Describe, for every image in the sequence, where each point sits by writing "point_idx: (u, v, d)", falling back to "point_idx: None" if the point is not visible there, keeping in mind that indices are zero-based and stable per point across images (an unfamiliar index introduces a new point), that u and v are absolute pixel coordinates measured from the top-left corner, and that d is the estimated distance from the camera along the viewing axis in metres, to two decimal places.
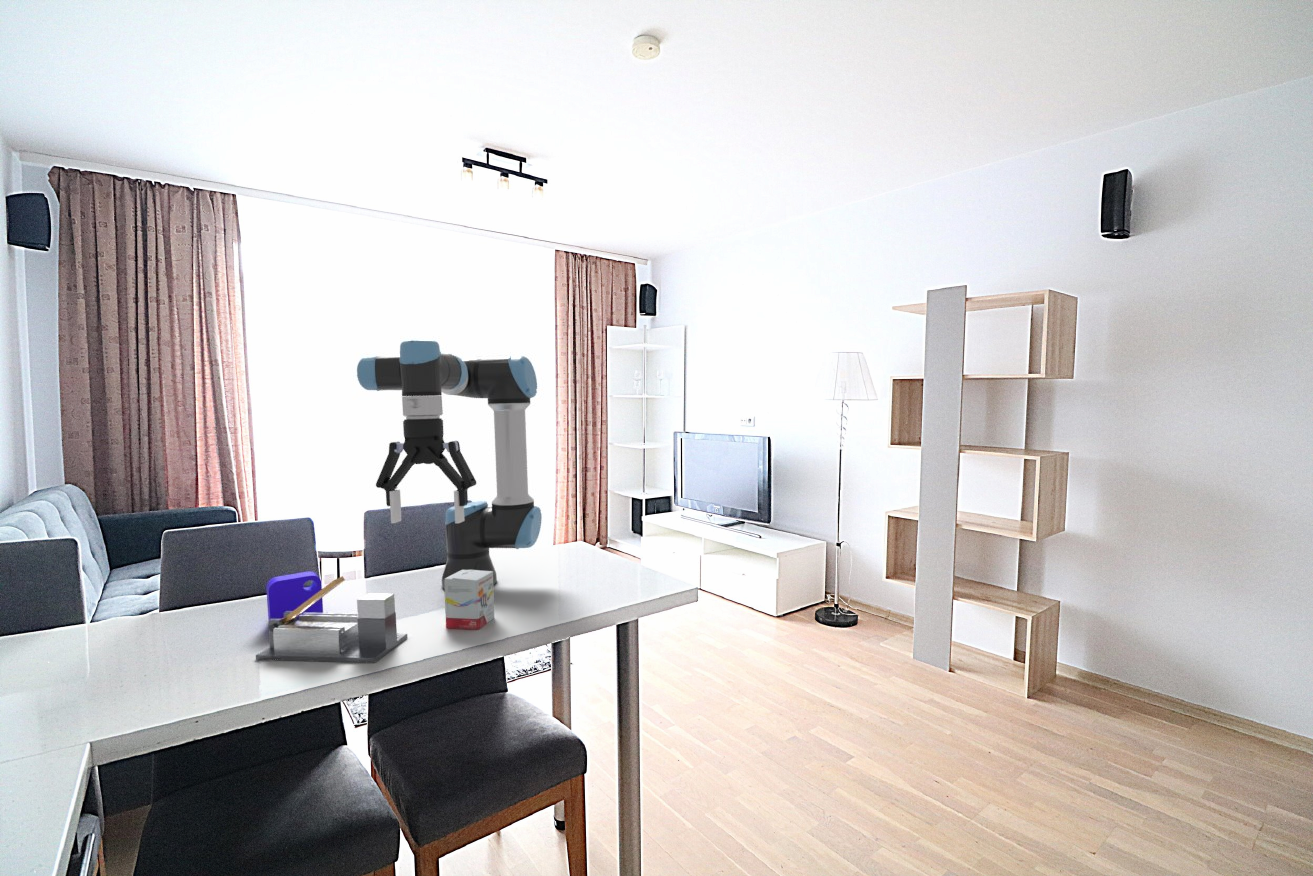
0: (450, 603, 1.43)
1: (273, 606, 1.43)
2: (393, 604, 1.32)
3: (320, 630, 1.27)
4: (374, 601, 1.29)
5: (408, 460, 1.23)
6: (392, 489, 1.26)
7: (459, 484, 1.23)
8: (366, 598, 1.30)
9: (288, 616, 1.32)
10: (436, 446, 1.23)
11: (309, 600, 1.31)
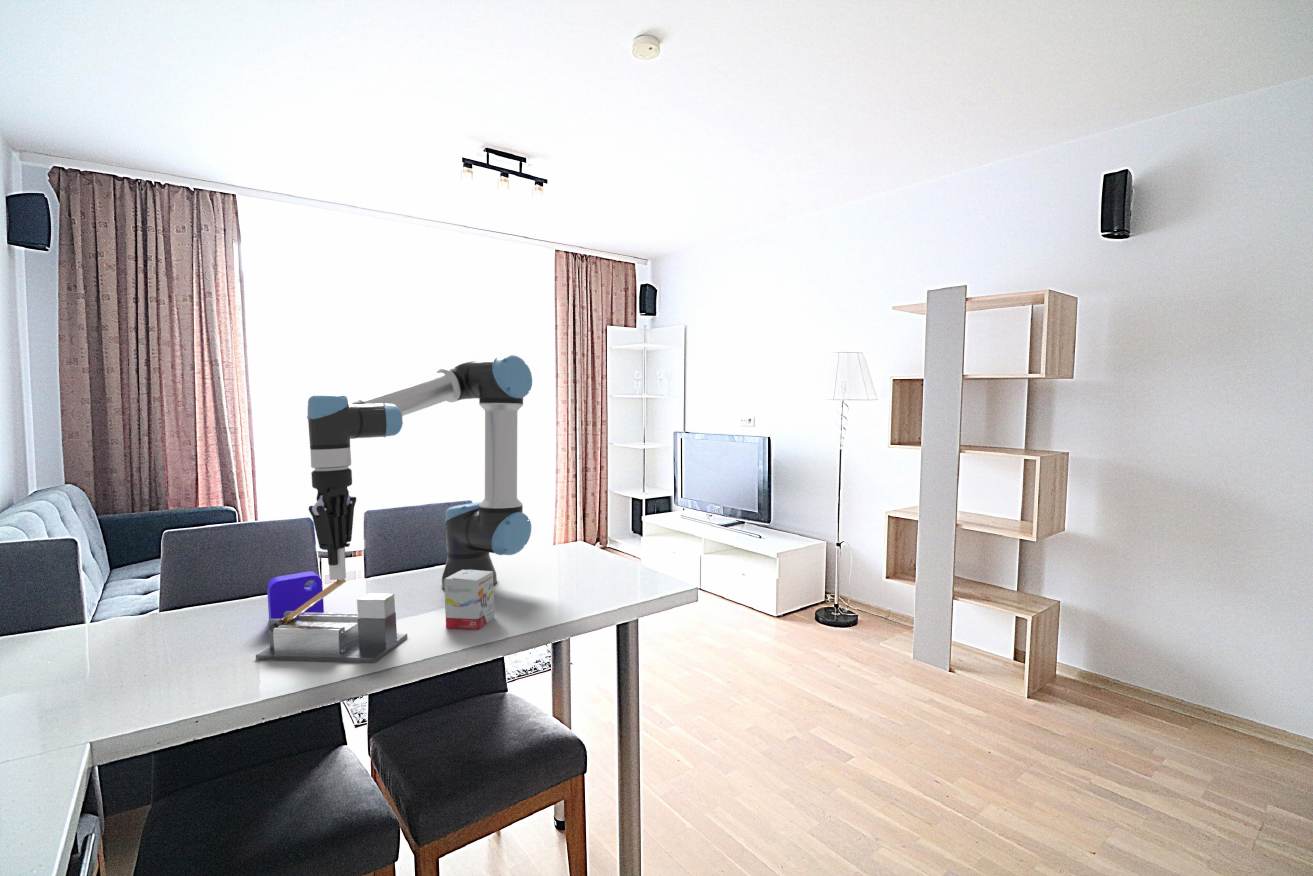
0: (450, 603, 1.43)
1: (274, 606, 1.43)
2: (393, 604, 1.32)
3: (320, 630, 1.27)
4: (374, 601, 1.29)
5: None
6: None
7: None
8: (366, 598, 1.30)
9: (288, 616, 1.32)
10: None
11: (310, 601, 1.31)
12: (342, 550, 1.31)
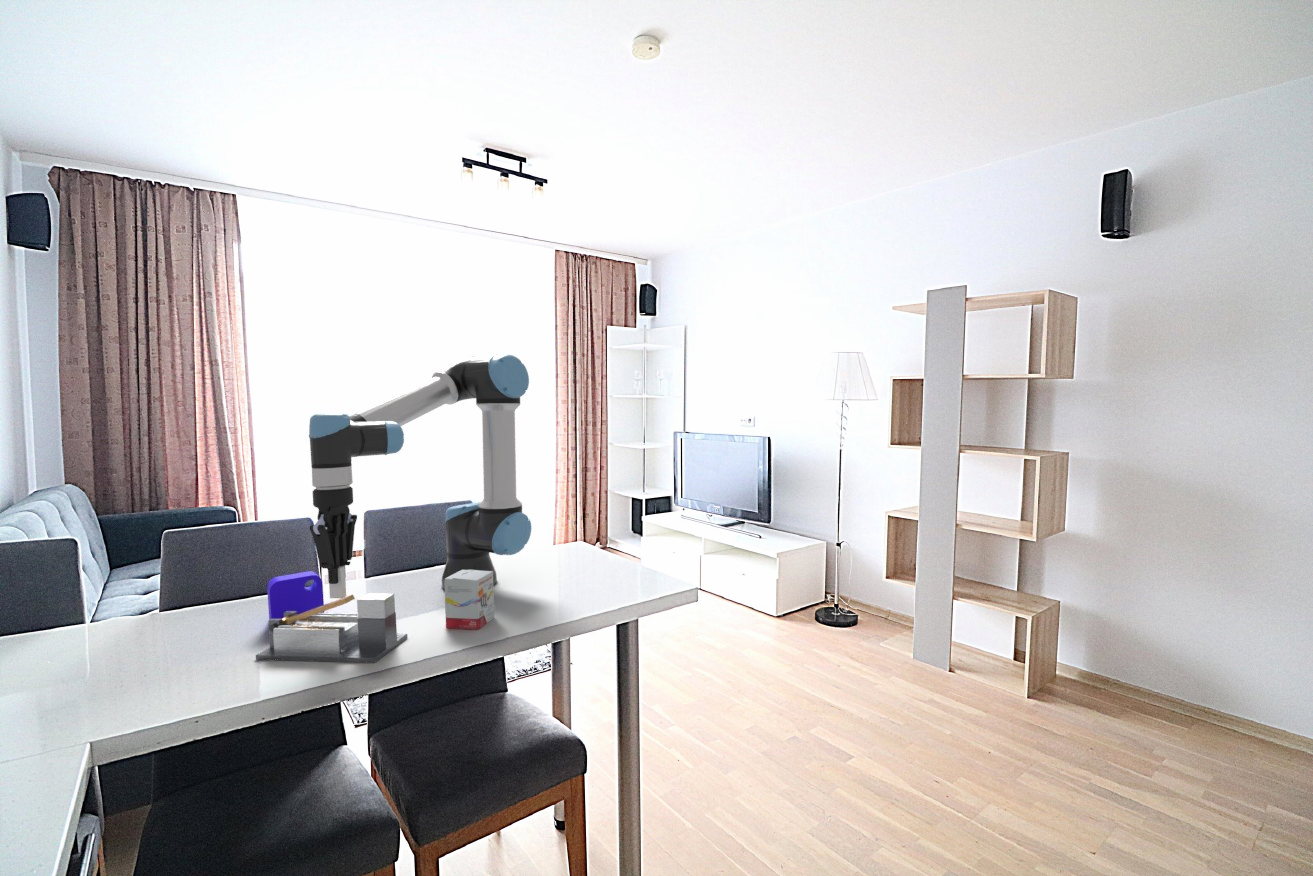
0: (450, 603, 1.43)
1: (275, 606, 1.43)
2: (393, 604, 1.32)
3: (320, 630, 1.27)
4: (374, 601, 1.29)
5: None
6: None
7: None
8: (366, 598, 1.30)
9: (290, 619, 1.32)
10: None
11: (315, 610, 1.31)
12: (342, 568, 1.31)
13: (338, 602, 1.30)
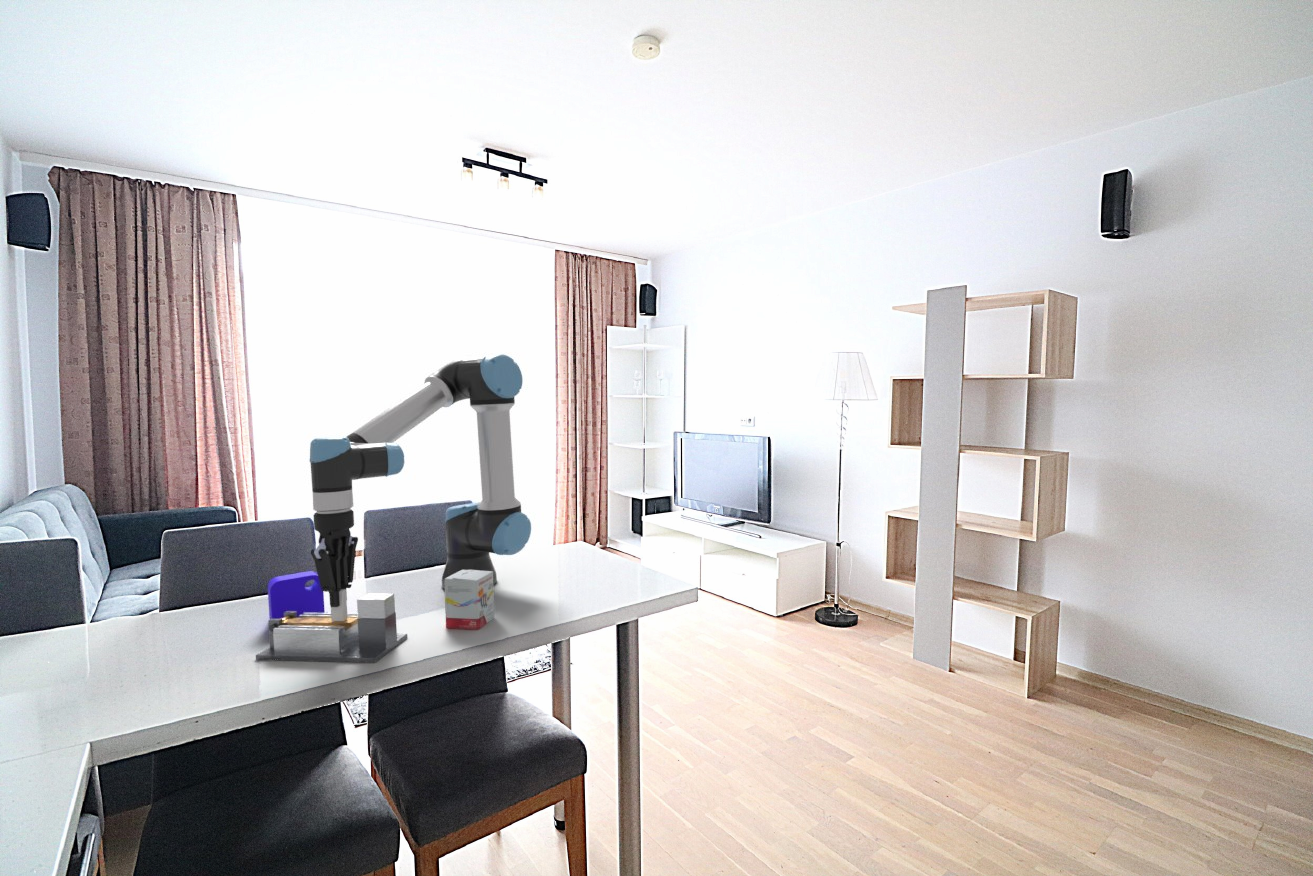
0: (450, 603, 1.43)
1: (275, 606, 1.43)
2: (393, 604, 1.32)
3: (320, 630, 1.27)
4: (374, 601, 1.29)
5: None
6: None
7: None
8: (366, 598, 1.30)
9: (291, 624, 1.32)
10: None
11: (318, 624, 1.31)
12: (344, 591, 1.31)
13: (343, 624, 1.30)
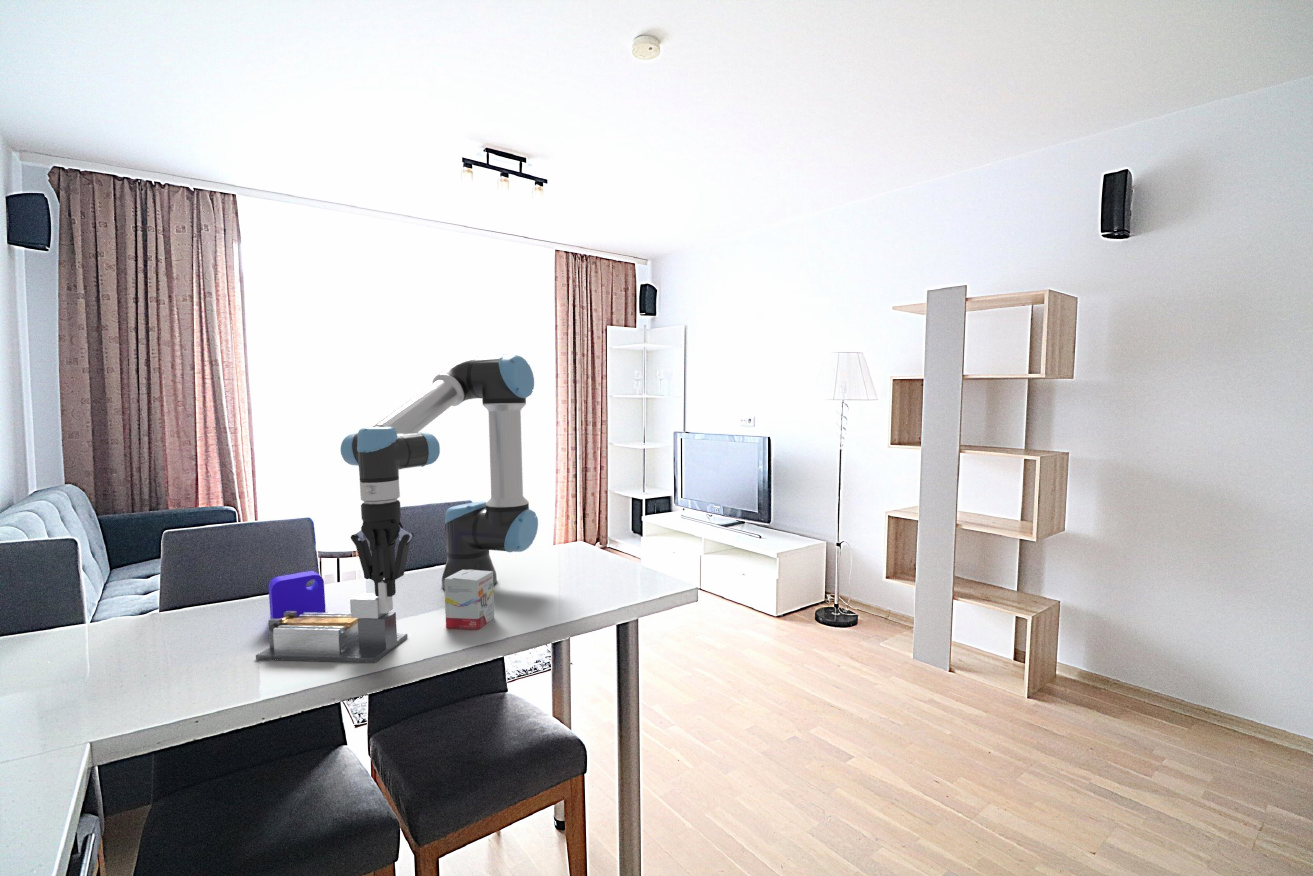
0: (450, 603, 1.43)
1: (276, 606, 1.44)
2: None
3: (320, 630, 1.27)
4: (367, 601, 1.29)
5: (373, 544, 1.28)
6: (381, 578, 1.30)
7: (388, 576, 1.29)
8: (359, 598, 1.30)
9: (291, 624, 1.32)
10: (393, 529, 1.28)
11: (318, 624, 1.31)
12: None
13: (343, 624, 1.30)
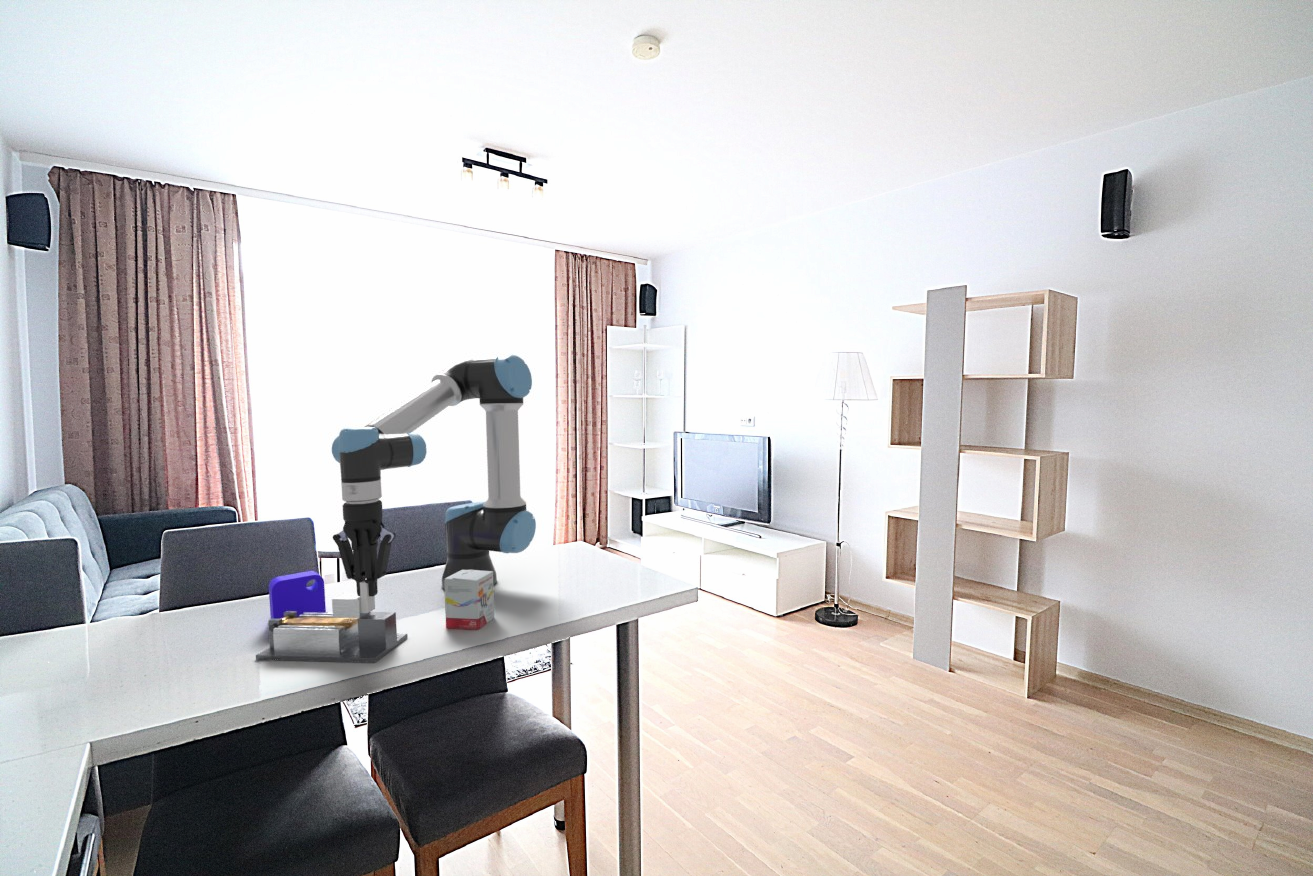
0: (450, 603, 1.43)
1: (277, 606, 1.44)
2: None
3: (320, 630, 1.27)
4: (349, 601, 1.29)
5: (355, 544, 1.29)
6: (363, 577, 1.31)
7: (370, 576, 1.29)
8: (341, 598, 1.30)
9: (291, 624, 1.32)
10: (374, 529, 1.29)
11: (318, 624, 1.31)
12: None
13: (343, 624, 1.30)
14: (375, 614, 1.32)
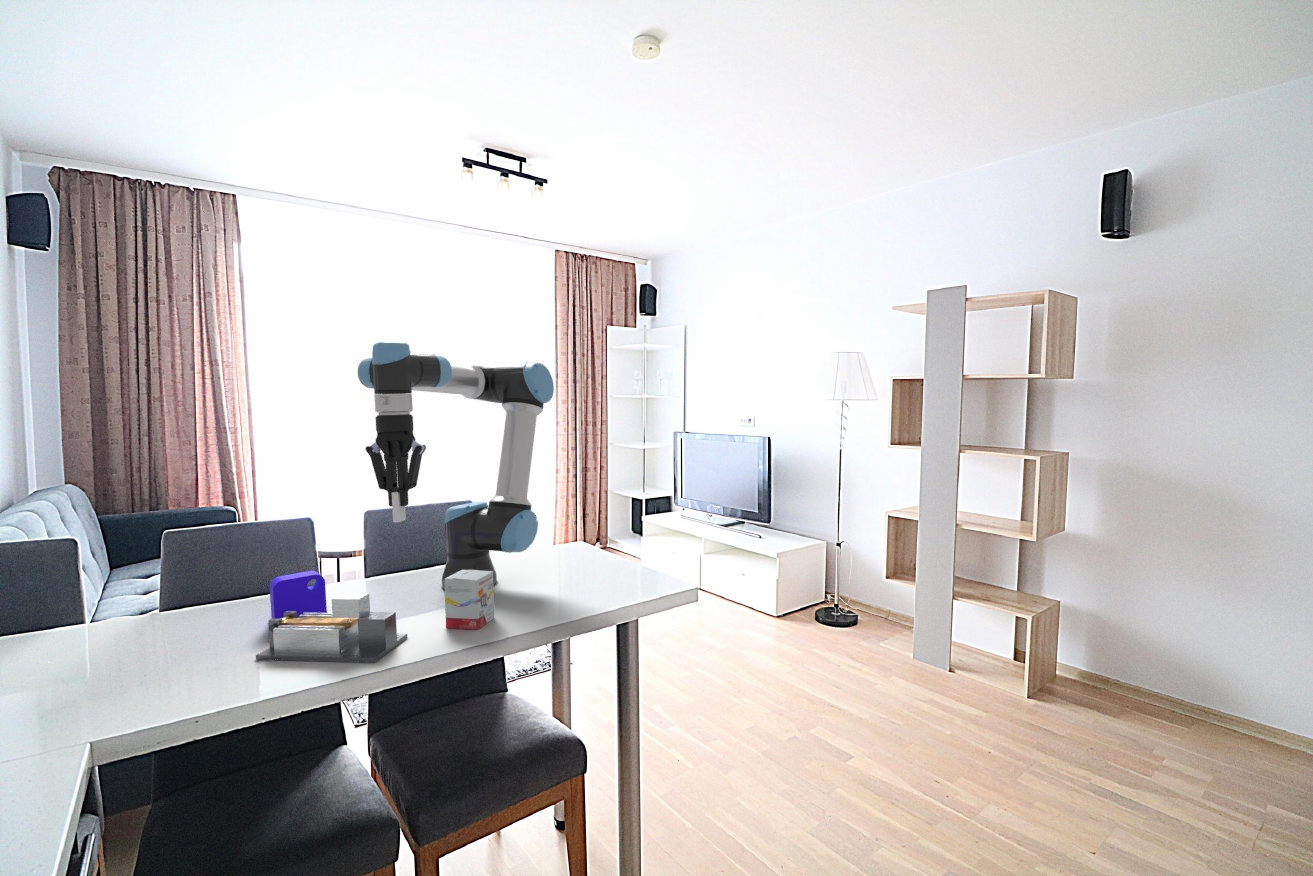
0: (450, 603, 1.43)
1: (278, 605, 1.44)
2: (368, 604, 1.33)
3: (320, 630, 1.27)
4: (348, 601, 1.29)
5: (387, 454, 1.34)
6: (394, 488, 1.35)
7: (401, 486, 1.34)
8: (341, 598, 1.30)
9: (291, 624, 1.32)
10: (406, 440, 1.33)
11: (318, 624, 1.31)
12: None
13: (343, 624, 1.30)
14: (375, 614, 1.32)
